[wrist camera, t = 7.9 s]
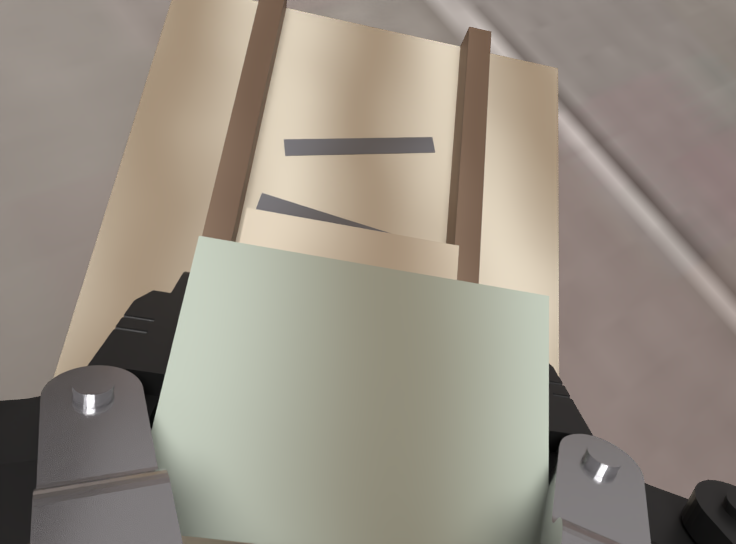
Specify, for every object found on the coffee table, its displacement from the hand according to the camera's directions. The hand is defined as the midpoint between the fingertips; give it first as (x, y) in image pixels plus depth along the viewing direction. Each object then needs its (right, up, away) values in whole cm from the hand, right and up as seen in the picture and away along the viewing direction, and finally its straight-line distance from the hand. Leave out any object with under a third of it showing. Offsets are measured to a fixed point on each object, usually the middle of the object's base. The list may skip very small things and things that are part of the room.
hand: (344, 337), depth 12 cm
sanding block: (-1, -3, +3) cm, 5 cm away
